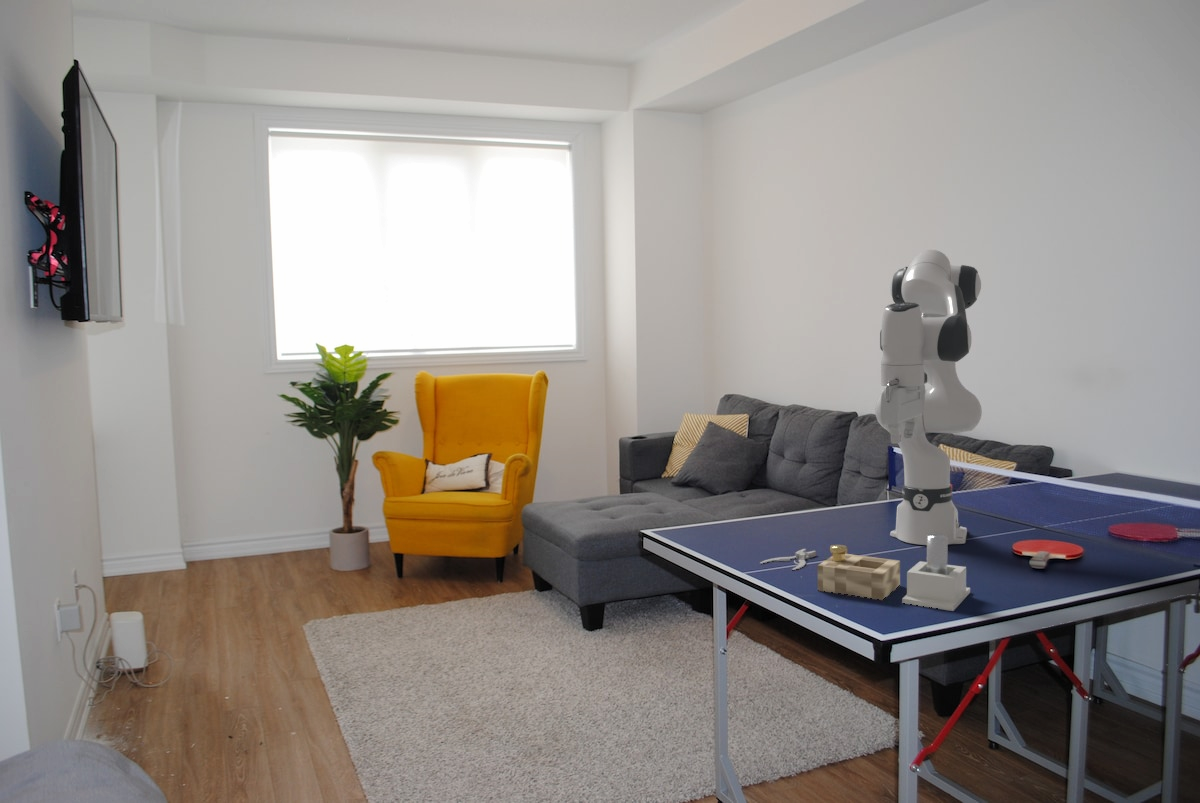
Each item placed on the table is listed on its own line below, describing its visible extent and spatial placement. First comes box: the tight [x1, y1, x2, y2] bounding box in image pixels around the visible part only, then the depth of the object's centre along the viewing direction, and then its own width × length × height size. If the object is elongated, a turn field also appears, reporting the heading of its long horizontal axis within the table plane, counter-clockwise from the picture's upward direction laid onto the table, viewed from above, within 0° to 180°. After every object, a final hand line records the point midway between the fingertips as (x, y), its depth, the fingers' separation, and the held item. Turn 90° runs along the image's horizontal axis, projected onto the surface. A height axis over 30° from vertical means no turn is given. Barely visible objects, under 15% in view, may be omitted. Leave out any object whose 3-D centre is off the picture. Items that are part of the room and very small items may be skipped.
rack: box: [901, 560, 971, 612], centre depth 187 cm, size 14×10×6 cm
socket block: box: [816, 553, 901, 601], centre depth 196 cm, size 12×14×6 cm
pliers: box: [759, 548, 817, 571], centre depth 219 cm, size 10×2×15 cm
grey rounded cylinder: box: [926, 534, 949, 575], centre depth 187 cm, size 4×4×12 cm
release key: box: [829, 544, 848, 562], centre depth 198 cm, size 4×4×8 cm
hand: (902, 440), depth 199 cm, fingers open, 8 cm apart
